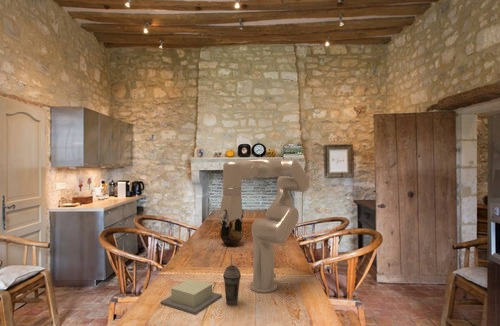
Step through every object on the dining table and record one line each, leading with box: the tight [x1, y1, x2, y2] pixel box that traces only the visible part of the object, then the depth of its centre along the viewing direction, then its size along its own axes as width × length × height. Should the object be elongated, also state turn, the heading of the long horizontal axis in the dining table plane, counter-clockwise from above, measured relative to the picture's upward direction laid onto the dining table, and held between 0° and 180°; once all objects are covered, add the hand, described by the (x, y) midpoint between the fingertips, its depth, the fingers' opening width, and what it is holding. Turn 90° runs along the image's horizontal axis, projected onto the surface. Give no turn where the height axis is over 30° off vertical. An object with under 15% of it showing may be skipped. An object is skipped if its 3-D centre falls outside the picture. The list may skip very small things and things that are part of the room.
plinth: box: [160, 278, 223, 315], centre depth 137 cm, size 18×18×6 cm
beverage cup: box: [222, 254, 242, 307], centre depth 134 cm, size 7×7×20 cm
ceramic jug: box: [219, 220, 244, 248], centre depth 221 cm, size 17×15×30 cm
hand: (231, 233), depth 134 cm, fingers open, 9 cm apart
